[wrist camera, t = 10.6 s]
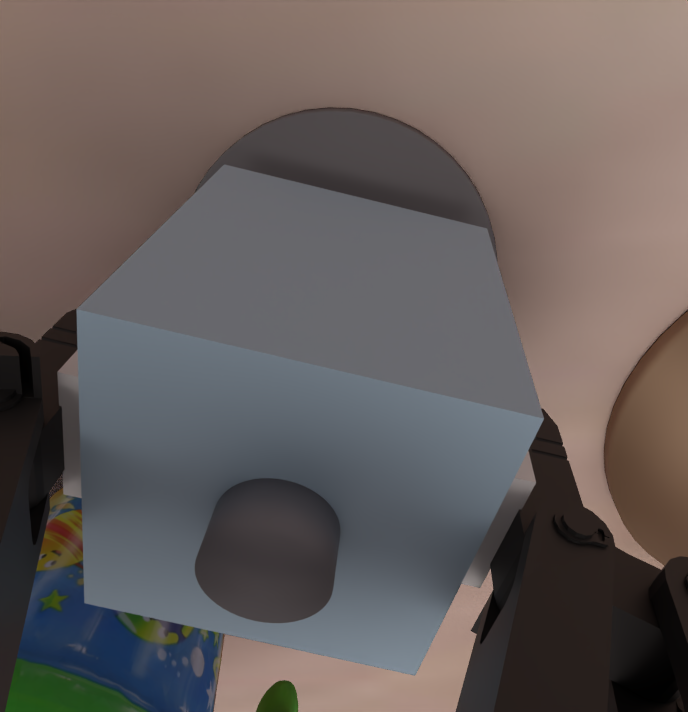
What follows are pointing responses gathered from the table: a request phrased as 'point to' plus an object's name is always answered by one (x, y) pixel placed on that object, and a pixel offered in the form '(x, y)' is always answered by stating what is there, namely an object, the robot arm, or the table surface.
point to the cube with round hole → (298, 419)
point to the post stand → (653, 447)
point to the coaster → (361, 162)
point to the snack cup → (109, 644)
